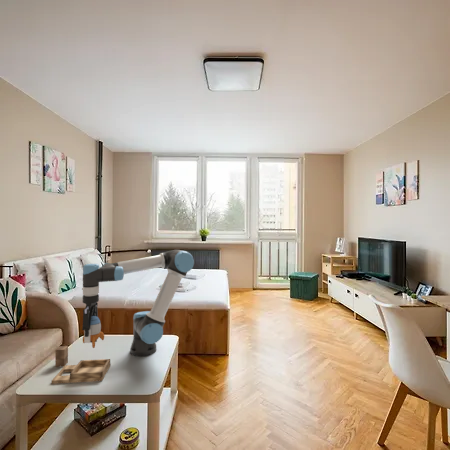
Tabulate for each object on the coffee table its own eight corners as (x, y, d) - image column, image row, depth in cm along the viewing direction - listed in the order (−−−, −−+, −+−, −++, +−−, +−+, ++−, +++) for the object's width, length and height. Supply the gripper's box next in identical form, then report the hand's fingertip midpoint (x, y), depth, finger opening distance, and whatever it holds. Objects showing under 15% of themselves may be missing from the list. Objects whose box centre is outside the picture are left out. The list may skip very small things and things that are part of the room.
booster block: (67, 362, 160) (67, 346, 160) (64, 366, 155) (64, 349, 155) (59, 362, 159) (59, 346, 159) (55, 366, 155) (55, 349, 155)
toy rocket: (97, 350, 144) (90, 322, 141) (78, 352, 145) (70, 324, 143) (108, 338, 154) (101, 312, 151) (90, 340, 155) (83, 314, 153)
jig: (110, 366, 156) (110, 358, 156) (102, 380, 141) (102, 372, 141) (65, 368, 153) (65, 360, 153) (51, 383, 138) (51, 375, 138)
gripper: (90, 290, 158) (90, 332, 158) (74, 299, 138) (74, 347, 138) (104, 289, 159) (104, 331, 159) (91, 299, 138) (90, 347, 138)
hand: (90, 339), depth 148 cm, fingers closed on toy rocket, 7 cm apart
